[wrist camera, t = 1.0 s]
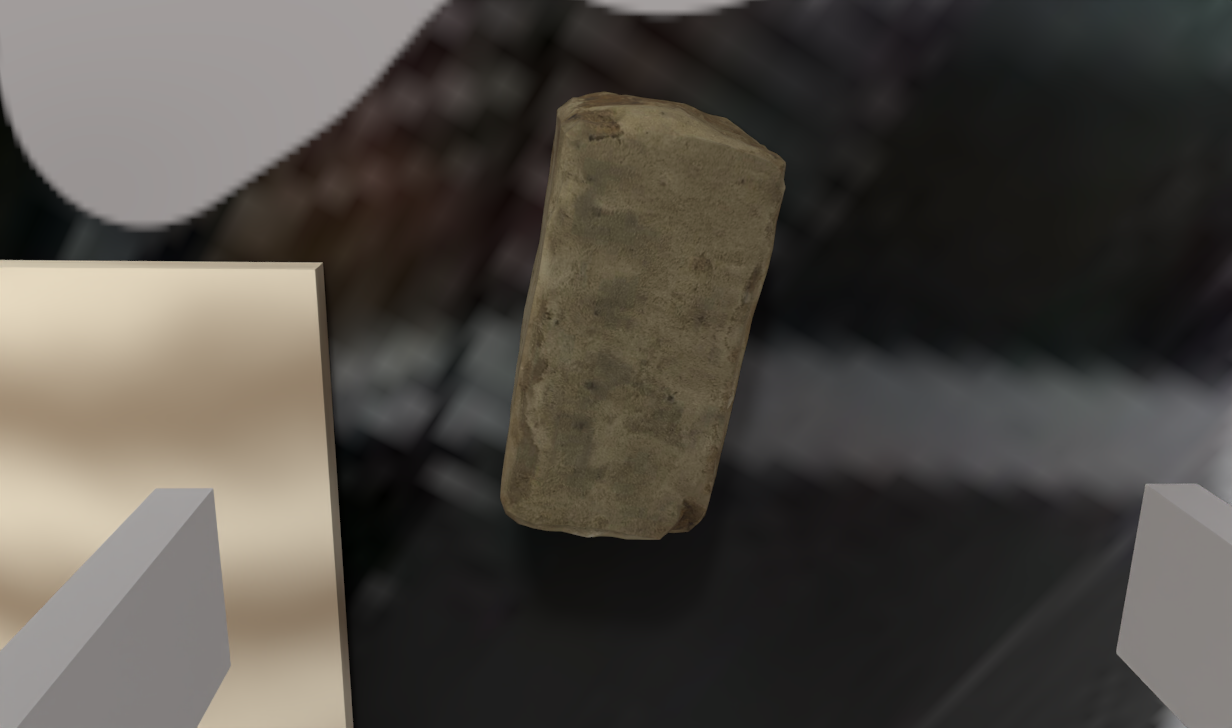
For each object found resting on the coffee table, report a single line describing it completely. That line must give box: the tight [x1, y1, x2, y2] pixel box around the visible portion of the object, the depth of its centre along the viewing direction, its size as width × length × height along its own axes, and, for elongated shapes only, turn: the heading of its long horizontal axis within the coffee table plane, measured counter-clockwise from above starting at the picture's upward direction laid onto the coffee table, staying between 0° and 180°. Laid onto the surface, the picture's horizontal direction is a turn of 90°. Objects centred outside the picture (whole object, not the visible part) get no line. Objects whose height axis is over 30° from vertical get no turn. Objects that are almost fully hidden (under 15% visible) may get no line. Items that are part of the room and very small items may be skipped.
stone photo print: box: [0, 260, 353, 728], centre depth 31 cm, size 20×15×1 cm
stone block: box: [500, 92, 786, 540], centre depth 28 cm, size 6×12×5 cm, turn 170°
